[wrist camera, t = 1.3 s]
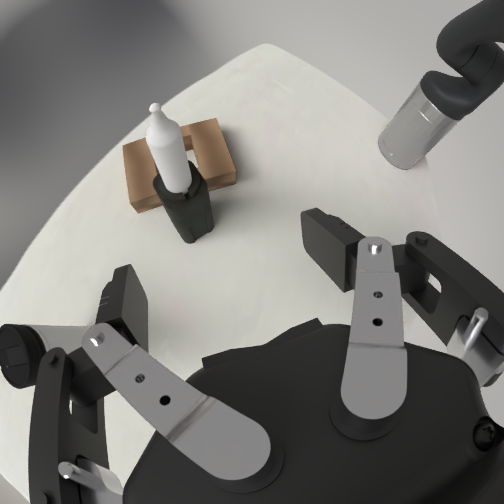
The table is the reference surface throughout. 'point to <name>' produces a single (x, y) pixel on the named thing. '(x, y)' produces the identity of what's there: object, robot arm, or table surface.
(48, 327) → the travel mug
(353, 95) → the table surface
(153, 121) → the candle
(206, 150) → the socket block
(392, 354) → the robot arm
